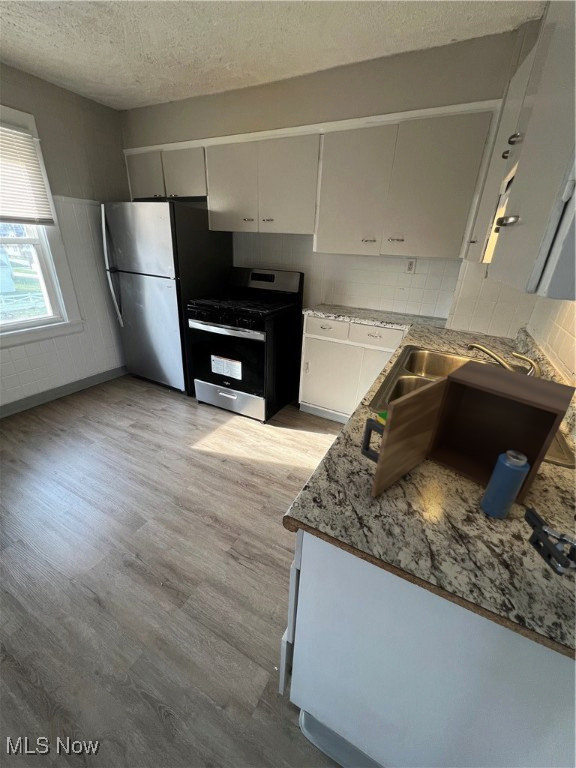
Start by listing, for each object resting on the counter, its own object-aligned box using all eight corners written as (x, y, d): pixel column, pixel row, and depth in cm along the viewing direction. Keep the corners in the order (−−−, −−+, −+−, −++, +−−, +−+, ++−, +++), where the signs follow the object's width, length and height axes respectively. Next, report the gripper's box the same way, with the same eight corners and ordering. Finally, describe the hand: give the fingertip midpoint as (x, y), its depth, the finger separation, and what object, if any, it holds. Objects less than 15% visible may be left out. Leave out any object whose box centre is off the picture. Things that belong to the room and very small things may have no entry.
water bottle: (510, 509, 68) (535, 456, 62) (503, 523, 65) (529, 468, 58) (483, 496, 71) (505, 444, 65) (476, 508, 68) (498, 454, 62)
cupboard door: (350, 480, 74) (365, 391, 64) (402, 446, 87) (420, 368, 77) (374, 497, 69) (394, 404, 59) (424, 459, 82) (448, 377, 72)
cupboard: (521, 505, 69) (566, 411, 59) (424, 457, 83) (447, 375, 73) (535, 472, 80) (576, 387, 69) (447, 434, 94) (470, 359, 83)
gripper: (728, 601, 37) (604, 497, 52) (610, 597, 37) (518, 494, 51) (691, 636, 40) (583, 529, 55) (582, 633, 40) (503, 526, 55)
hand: (552, 512), depth 53 cm, fingers open, 8 cm apart
